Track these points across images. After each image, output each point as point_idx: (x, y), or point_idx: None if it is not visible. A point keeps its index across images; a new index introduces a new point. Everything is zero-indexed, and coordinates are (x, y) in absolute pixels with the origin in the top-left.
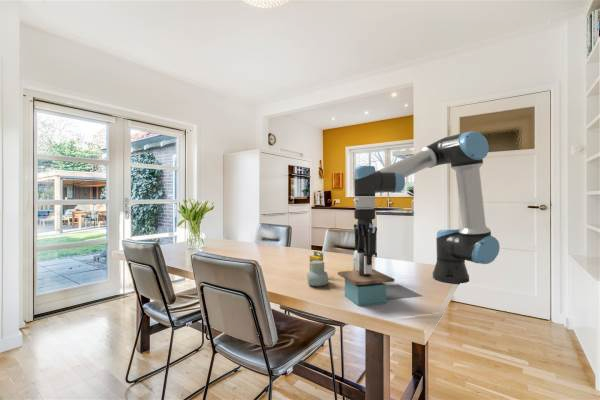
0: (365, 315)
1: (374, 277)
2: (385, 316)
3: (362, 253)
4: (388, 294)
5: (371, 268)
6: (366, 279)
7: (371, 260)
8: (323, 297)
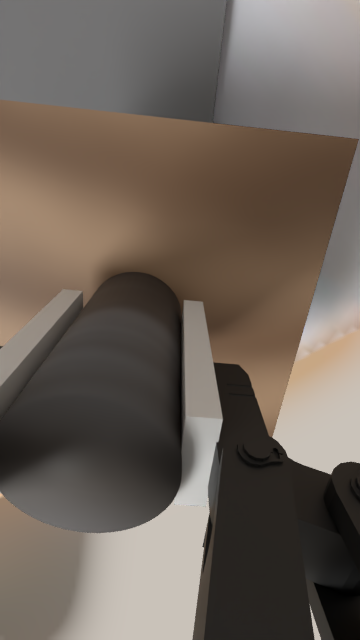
0: (301, 354)
1: (231, 287)
2: (354, 291)
3: (83, 500)
4: (121, 56)
5: (206, 326)
6: (248, 368)
7: (256, 405)
8: None
